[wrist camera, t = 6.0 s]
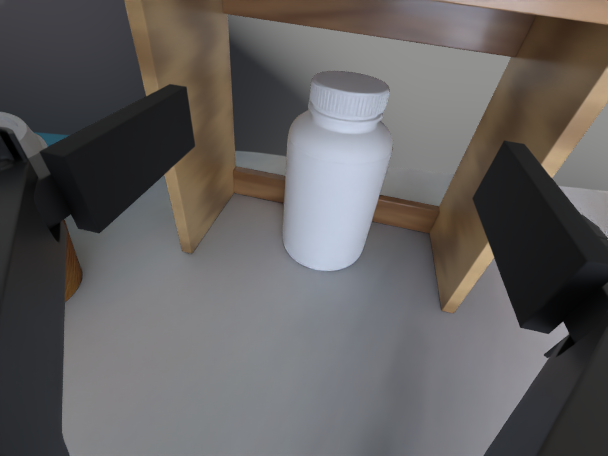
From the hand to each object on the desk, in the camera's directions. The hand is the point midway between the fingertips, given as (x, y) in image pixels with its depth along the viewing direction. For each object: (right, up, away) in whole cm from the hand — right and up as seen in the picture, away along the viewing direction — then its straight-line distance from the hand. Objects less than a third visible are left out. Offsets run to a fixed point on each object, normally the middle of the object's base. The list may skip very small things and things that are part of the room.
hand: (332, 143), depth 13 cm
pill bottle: (+1, -5, +17) cm, 18 cm away
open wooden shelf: (+1, -5, +18) cm, 18 cm away
